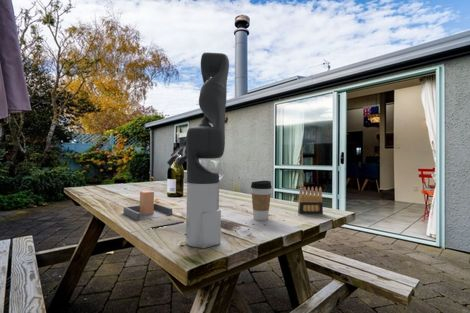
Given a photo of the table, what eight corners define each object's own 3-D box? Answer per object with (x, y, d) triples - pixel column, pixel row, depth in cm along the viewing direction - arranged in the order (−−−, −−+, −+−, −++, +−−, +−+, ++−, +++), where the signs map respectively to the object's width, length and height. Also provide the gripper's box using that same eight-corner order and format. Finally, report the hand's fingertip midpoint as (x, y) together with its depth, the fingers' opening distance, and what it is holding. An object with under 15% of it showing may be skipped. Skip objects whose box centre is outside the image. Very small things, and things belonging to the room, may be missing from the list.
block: (153, 213, 101) (154, 191, 101) (144, 215, 99) (144, 192, 99) (149, 211, 105) (149, 190, 105) (139, 213, 102) (139, 191, 102)
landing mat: (183, 223, 92) (183, 221, 92) (152, 229, 84) (152, 227, 84) (171, 218, 98) (171, 217, 98) (141, 223, 90) (141, 222, 90)
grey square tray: (172, 217, 100) (172, 208, 100) (137, 223, 91) (137, 213, 91) (156, 210, 111) (156, 203, 111) (123, 215, 102) (123, 207, 102)
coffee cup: (275, 220, 98) (275, 181, 98) (256, 221, 95) (256, 182, 95) (265, 215, 106) (265, 180, 106) (246, 216, 103) (247, 180, 103)
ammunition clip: (299, 214, 109) (299, 186, 109) (297, 213, 111) (298, 186, 111) (322, 213, 110) (323, 186, 110) (321, 212, 112) (321, 186, 112)
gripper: (182, 134, 121) (160, 158, 113) (199, 133, 110) (175, 159, 103) (191, 145, 124) (170, 169, 117) (208, 145, 114) (186, 171, 106)
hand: (173, 164), depth 110 cm, fingers open, 8 cm apart
